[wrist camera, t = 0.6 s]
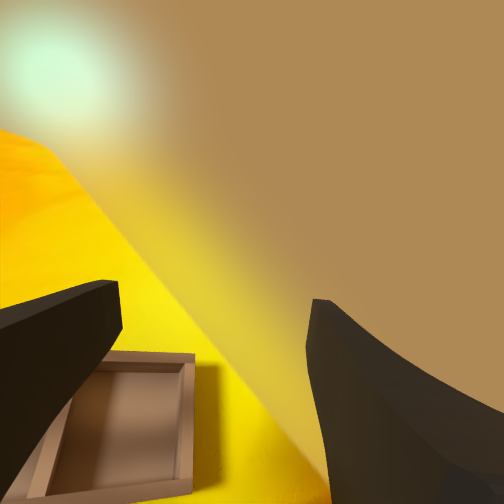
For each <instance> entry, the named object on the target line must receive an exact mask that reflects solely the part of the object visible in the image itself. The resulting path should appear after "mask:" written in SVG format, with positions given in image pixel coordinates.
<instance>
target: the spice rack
mask: <svg viewBox="0 0 504 504" xmlns="http://www.w3.org/2000/svg"><path fill="white" fill-rule="evenodd" d="M194 390H195V354H191V353H166V352H140V351H114V350H109V352H108V353H107V355H106V356H105V357H104V358H103V360H102V361H101V362H100V363H99V365H98V366H97V367H96V368H95V370H94V371H93V372H92V373H91V375H90V376H89V377H88V378H87V379H86V381H85V382H84V383H83V384H82V386H81V387H80V388H79V389H78V391H77V392H76V393H75V394H74V395H73V397H72V398H71V399H70V400H69V402H68V403H67V404H66V405H65V406H64V408H63V409H62V410H61V412H60V413H59V414H58V416H57V417H56V418H55V420H54V421H53V422H52V424H51V425H50V427H49V428H48V430H47V431H46V433H45V434H44V436H43V437H42V439H41V440H40V442H39V443H38V445H37V446H36V448H35V449H34V451H33V452H32V454H31V455H30V457H29V458H28V460H27V461H26V463H25V465H24V466H23V468H22V469H21V471H20V472H19V474H18V476H17V477H16V479H15V480H14V482H13V483H12V485H11V487H10V488H9V490H8V491H7V493H6V495H5V496H4V498H3V500H2V501H1V503H0V504H129V503H136V502H142V501H149V500H156V499H162V498H169V497H176V496H182V495H189V494H192V485H193V438H194Z"/></svg>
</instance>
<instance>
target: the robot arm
mask: <svg viewBox="0 0 504 504" xmlns="http://www.w3.org/2000/svg"><path fill="white" fill-rule="evenodd" d="M122 329H123V326H122V316H121V307H120V297H119V287H118V281H112V280H97V281H92V282H89V283H85V284H81V285H78V286H75V287H71V288H68V289H65V290H62V291H59V292H56V293H53V294H49V295H46V296H43V297H40V298H37V299H33V300H30V301H27V302H23V303H20V304H16V305H13V306H10V307H6V308H3V309H0V503H1V501H2V500H3V498H4V496H5V495H6V493H7V491H8V490H9V488H10V487H11V485H12V483H13V482H14V480H15V479H16V477H17V476H18V474H19V472H20V471H21V469H22V468H23V466H24V465H25V463H26V461H27V460H28V458H29V457H30V455H31V454H32V452H33V451H34V449H35V448H36V446H37V445H38V443H39V442H40V440H41V439H42V437H43V436H44V434H45V433H46V431H47V430H48V428H49V427H50V425H51V424H52V422H53V421H54V420H55V418H56V417H57V416H58V414H59V413H60V412H61V410H62V409H63V408H64V406H65V405H66V404H67V403H68V402H69V400H70V399H71V398H72V397H73V395H74V394H75V393H76V392H77V391H78V389H79V388H80V387H81V386H82V384H83V383H84V382H85V381H86V379H87V378H88V377H89V376H90V375H91V373H92V372H93V371H94V370H95V368H96V367H97V366H98V365H99V363H100V362H101V361H102V360H103V358H104V357H105V356H106V355H107V353H108V352H109V350H110V349H111V347H112V346H113V344H114V343H115V341H116V339H117V337H118V336H119V334H120V332H121V331H122ZM306 358H307V367H308V374H309V379H310V384H311V388H312V392H313V397H314V401H315V406H316V410H317V415H318V419H319V423H320V428H321V432H322V437H323V442H324V447H325V452H326V460H327V468H328V476H329V483H330V491H331V499H332V504H504V413H502V412H500V411H497V410H495V409H493V408H491V407H489V406H487V405H485V404H483V403H481V402H479V401H477V400H475V399H473V398H471V397H469V396H467V395H465V394H464V393H462V392H460V391H458V390H456V389H454V388H453V387H451V386H449V385H447V384H445V383H443V382H442V381H440V380H438V379H436V378H435V377H433V376H431V375H429V374H428V373H426V372H424V371H423V370H421V369H420V368H418V367H417V366H415V365H413V364H412V363H410V362H409V361H407V360H406V359H404V358H402V357H401V356H400V355H398V354H396V353H395V352H394V351H392V350H391V349H390V348H388V347H387V346H386V345H384V344H383V343H382V342H380V341H379V340H378V339H376V338H375V337H374V336H372V335H371V334H370V333H369V332H367V331H366V330H365V329H364V328H362V327H361V326H360V325H359V324H358V323H356V322H355V321H354V320H353V319H352V318H351V317H350V316H348V315H347V314H346V313H345V312H344V311H343V310H341V309H340V308H339V307H338V306H337V305H336V304H334V303H333V302H332V301H330V300H321V299H313V302H312V308H311V315H310V321H309V328H308V334H307V340H306Z"/></svg>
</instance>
